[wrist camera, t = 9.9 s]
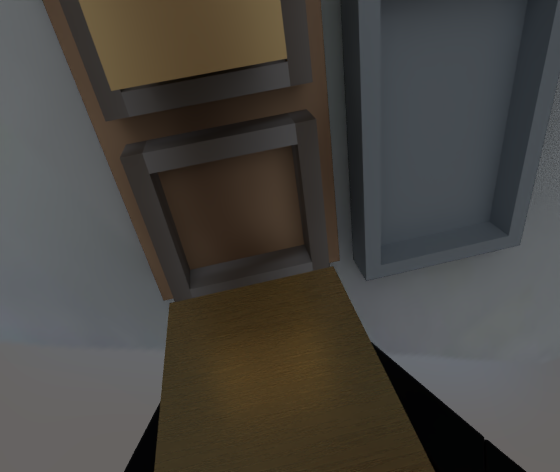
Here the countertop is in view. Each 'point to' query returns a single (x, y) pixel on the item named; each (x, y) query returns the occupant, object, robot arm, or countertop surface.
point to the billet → (279, 385)
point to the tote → (444, 125)
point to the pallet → (211, 132)
